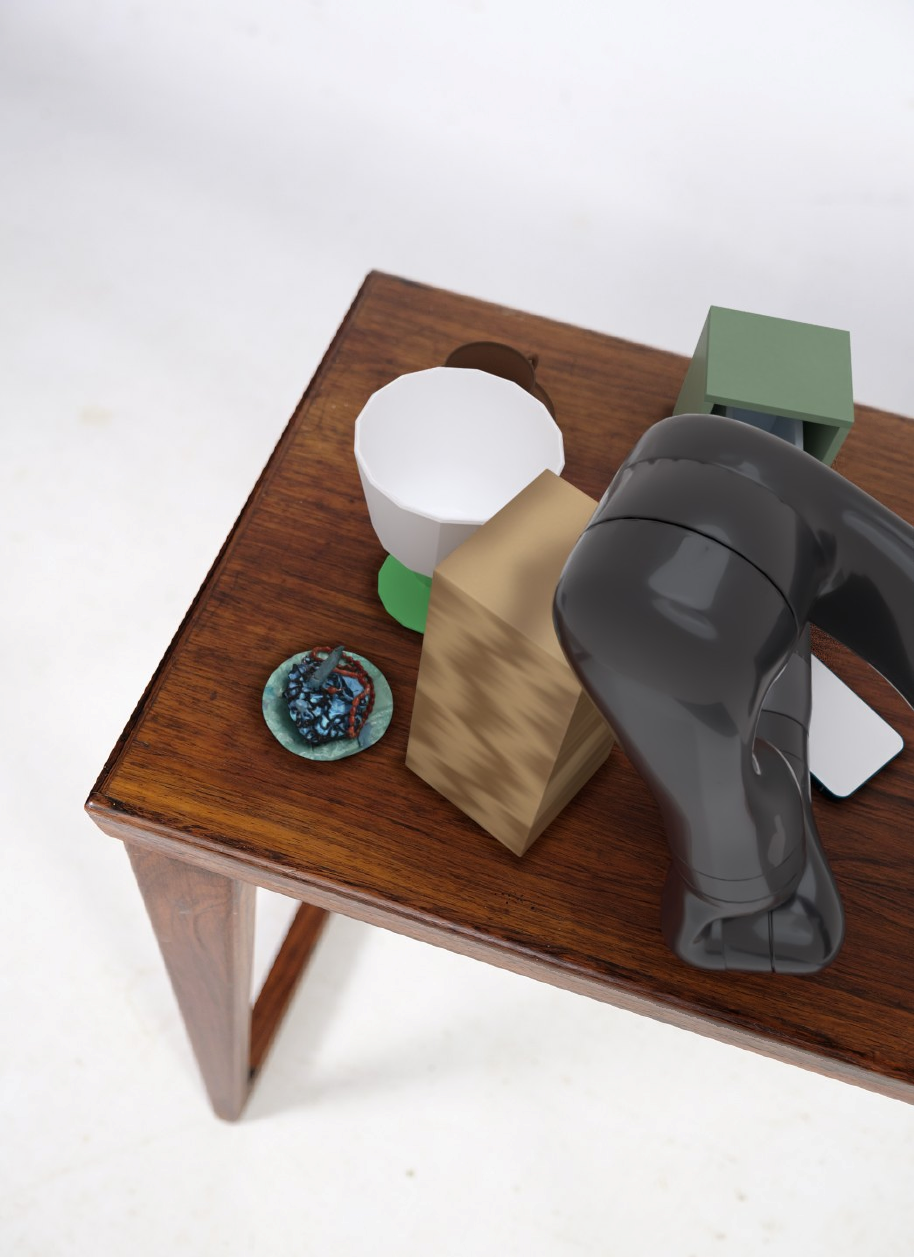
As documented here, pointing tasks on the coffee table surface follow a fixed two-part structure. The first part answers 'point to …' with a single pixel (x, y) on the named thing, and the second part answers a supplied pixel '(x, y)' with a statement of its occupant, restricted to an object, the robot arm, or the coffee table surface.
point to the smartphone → (845, 737)
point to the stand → (506, 672)
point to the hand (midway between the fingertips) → (755, 498)
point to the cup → (444, 469)
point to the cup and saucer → (502, 366)
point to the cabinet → (774, 374)
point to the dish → (327, 703)
